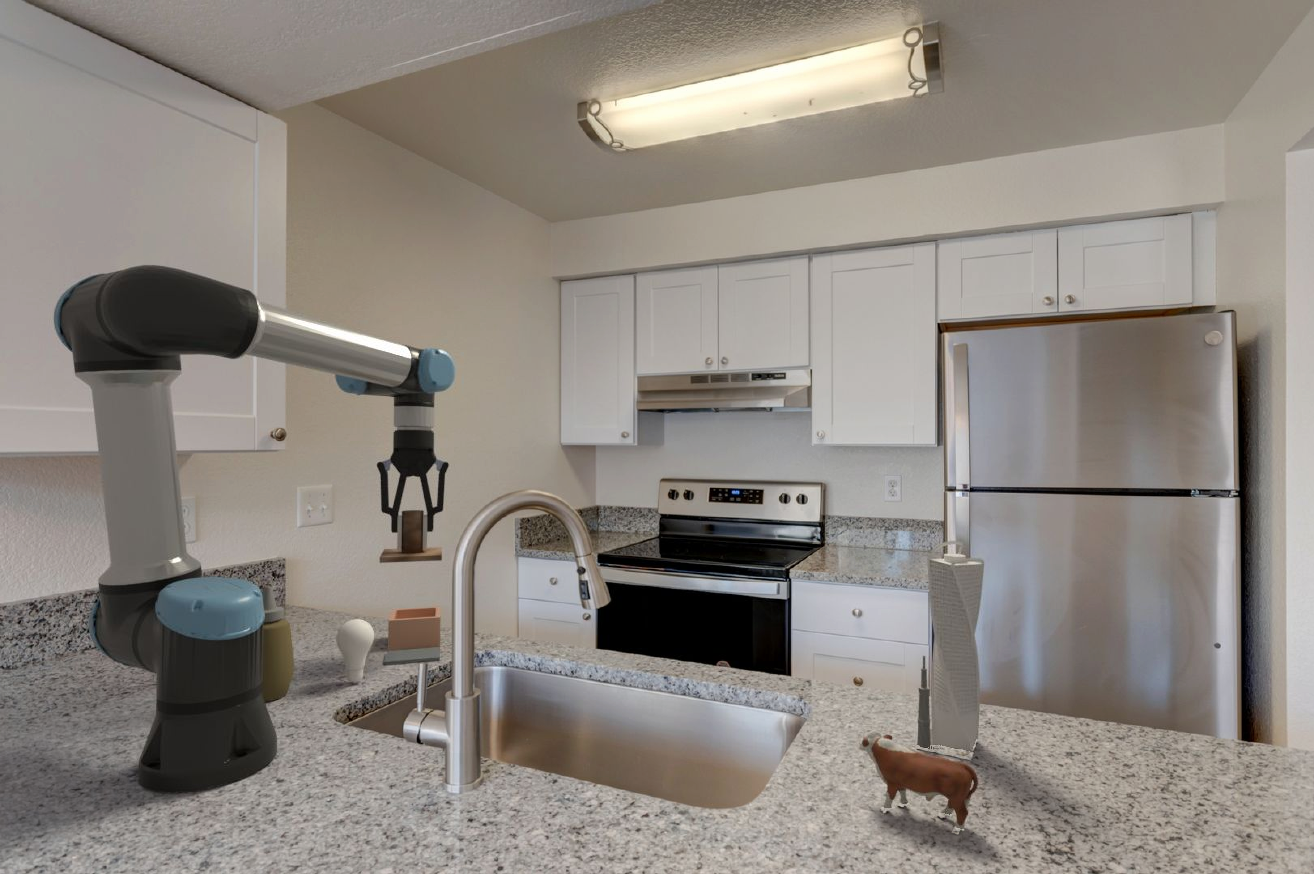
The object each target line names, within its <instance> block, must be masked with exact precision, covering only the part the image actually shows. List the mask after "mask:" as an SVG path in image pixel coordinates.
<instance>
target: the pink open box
mask: <svg viewBox="0 0 1314 874" xmlns="http://www.w3.org/2000/svg"><path fill="white" fill-rule="evenodd" d="M441 617H442V606H425V607H424V606H423V607H409V608H408V607H407V608H394V609H391V612H390V615H389V618H388V624H387V626H388V630H387V631H388V633H387V634H388V635H387V641H388V642H387V643H388V644H387V646H388V647H387V651H396V650H409V649H422V648H435V647H440V648H441V637H442V636H441V635H442V633H441V631H442V625H441V624H442V619H441Z"/></svg>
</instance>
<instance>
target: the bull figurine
mask: <svg viewBox="0 0 1314 874" xmlns="http://www.w3.org/2000/svg"><path fill="white" fill-rule="evenodd" d="M859 750H861V751H862V752H863V751H864V752H866V753H867V754H868V756H869V758H870V759H871V761H873V763H874V764H875V765H874V766H875V769H876V771H877V774H878V777H879V778H881V780H882V782H883V783H884V784H885V785H886V786H887V787H886V789H887V791H886V792H885V798H886V800H885V801H884V803H883V805H882V806H883V807H884V808H892V809H893V807H892V806H893V805H892V803H893V801H894V799H896V795H897V794H898V793H899V795H900V799H899V801H900V802H901V803H902V804H907V803H908V802H909V800H908V799H907V790H908V791H910V792H912V793H914V794H917V795H919V796H923V797H924V798H925V800H926V802H931V801H932V800H933V799H934V798H935V797H936V796H943V797H945V798H946V799H947V800H948V801H947V804H946V805H945V807H944V808H943V809H941V811H940V812H941V813H945V814H949V815H950V814H952V815H953V814H954V813H955V817H956V821H955V823H954V825H955V826H956V827H957V828H960V829H964V830H965V822H966V819H967V817H968V816H969V810H968V808H969V806H970V802H971V797H972V795H973V794H974V793H975V792H976V791H977V789H978V785H979V778H978V775H977V773H976V772H975V770H974V769H973V768H972V767H971V765H969V764H967V763H965V762H960V761H957V760H952V759H951V760H950V759H948V758H944V757H939V756H935V755H930V754H929V755H928V754H925V753H923V752H922V753H921V752H918V751H916V750H914V749H912V748H909V747H907V746H904V745H900V744H898V743H897V742H895V741H893V736H892V735H890V734H885V735H883V736H882V735H881V732H880V731H878V730H877V729H873V730H870V731H869V732H868V733H866V734H865V735H863V739H862V741H861V742H860V743H859ZM972 783H973V785H972ZM953 812H954V813H953Z"/></svg>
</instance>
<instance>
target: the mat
mask: <svg viewBox="0 0 1314 874" xmlns="http://www.w3.org/2000/svg"><path fill="white" fill-rule="evenodd" d="M440 660H441V646H440V647H428V648H415V649H403V650H390V651H388V650H387V651H386V654H385V658H384V661H383V665H384V666H389V665H390V666H391V665H402V664H414V663H425V662H437V661H440ZM422 661H424V662H422Z"/></svg>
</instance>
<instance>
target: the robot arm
mask: <svg viewBox="0 0 1314 874" xmlns="http://www.w3.org/2000/svg"><path fill="white" fill-rule="evenodd" d="M53 325H54V330H55V332H56V335H57V337H58V338H59V340H60V342H61V343H62V344H63V346H64V347H66V348H67V349H68V350H69V352H71V353H72V361H73V362H72V363H73V367H74V368H73V369H74V370H73V371H74V375H75V376H74V377H76V378H78V379H79V380H80V381H82V382H83V383H85V384H86V385H88V386H89V388H90V389H91V394H92V395H91V396H92V404H93V414H94V423H95V430H96V431H95V432H96V440H97V441H96V443H97V449H98V459H99V468H100V476H101V477H100V478H101V485H102V494H103V504H104V513H105V522H106V524H105V525H106V533H107V541H108V542H107V543H108V550H109V557H110V564H109V567H108V568H107V569H106V570H105V571H104V572H103V573H102V574H101V575H100V576H99V577H98V581H97V583H98V593H99V598H98V599H97V600H96V602H95V603H94V604H93V606H92V608H91V610H90V612H89V613H90V614H89V616H88V630H89V631H88V632H89V636H90V638H91V641H92V643H93V644H94V646H95V647H96V648H97V649H98V650H99V651H100V652H101V653H102V654H104V655H105V656H106V657H107V658H109V659H111V660H112V661H113V662H115V663H119V664H122V665H123V666H125V667H130V668H138V669H140V670H144V671H147V672H150V673H152V674H156V678H155V679H156V689H155V690H156V693H155V694H156V698H155V700H156V703H155V704H156V705H155V707H156V708H155V709H156V710H155V716H154V720H153V722H152V725H151V728H150V730H149V733H148V735H147V739H146V741H145V743H144V746H143V748H142V751H141V753H140V754H141V755H140V756H139V757H140V758H139V759H138V763H137V764H138V767H137V769H138V770H137V783H138V784H139V786H140V787H142V788H143V789H145V790H148V791H152V792H156V793H169V794H170V793H188V792H195V791H200V790H201V791H202V790H207V789H211V788H215V787H219V786H223V785H227V784H230V783H232V782H236V781H238V780H239V781H240V780H241V779H243V778H246V777H248V776H250V775H252V774H254V773H256V772H259V771H260V770H261V769H264V768H265V767H266V766H268V765H269V764H270V763H271V762H272V761H273V760H274V759H275V757H276V756H277V753H278V735H277V731H276V728H275V726H274V723H273V721H272V717H271V716H270V713H269V710H268V708H267V707H268V706H267V705H266V701H264V699H263V692H262V686H263V621H264V618H265V611H264V606H263V597H262V594H263V592H262V590H261V589H260V588H259V587H258V586H257V585H256V584H255V583H253V582H251V581H249V580H246V579H242V578H237V577H222V576H203V571H202V563H201V561H199V560H198V559H196V558H195V557H193V556H191V555H190V554H189V553H188V549H187V541H186V532H185V521H184V520H185V519H184V510H183V501H182V491H181V483H180V480H181V479H180V473H179V461H178V454H177V453H178V451H177V443H176V442H177V441H176V431H175V430H176V429H175V423H174V422H175V421H174V413H173V402H172V391H171V390H172V389H171V386H172V384H173V383H174V381H175V380H176V379H177V378H179V376H180V375H181V374H183V373H182V361H181V359H182V358H181V356H182V355H184V356H185V355H191V356H193V355H203V356H206V355H207V356H214V357H215V356H216V357H222V358H225V359H230V360H237V359H241V358H242V357H244V356H245V355H246V356H252V357H256V358H261V359H265V360H270V361H273V362H278V363H283V364H286V365H287V364H288V365H292V366H296V367H301V368H306V369H310V370H315V371H319V372H324V373H327V374H332V375H334V377H335V382H336V384H337V386H338V387H339V389H340V391H343V392H345V393H347V394H353V395H357V396H362V395H365V396H374V397H375V396H376V397H388V398H393V426H394V427H395V428H396V429H394V432H393V433H392V434H393V439H392V440H393V441H392V443H393V444H392V445H393V446H392V448H393V449H392V453H391V455H390V458H388V459H386V460H382V461H379V462H377V463H376V467H377V470H378V473H379V474H380V501H381V502H380V504H381V505H380V507H381V508H380V509H381V513H383V514H387V515H389V516H390V518H391V523H390V524H391V525H390V528H391V529H390V530H391V533H394V534H396V533H397V537H396V540H397V543H396V546H397V547H396V549H397V551H401V550H402V514H401V515H400V514H399V512H400V508H401V504H402V500H403V495H404V491H405V487H406V481H407V478H410V477H417V478H419V480H420V484H421V490H422V495H423V499H424V503H425V509H426V514H424V516H423V550H427V548H428V533H430V532H431V533H432V532H433V531H434V519H435V518H434V517H435V515H436V514H439V513H441V512H443V510H444V501H445V500H444V499H445V484H446V483H445V482H446V480H445V479H446V473H447V471H448V469H449V466H450V464H449V463H448V462H447V461H443V460H440V459H437V455H436V454H435V432H434V430H432V429H433V428H434V427H435V397H436V396H435V395H436V394H435V393H440V392H444V391H446V390H448V389H450V387H451V386H452V385H453V382H454V380H455V377H456V366H455V362H454V360H453V358H452V357H451V355H450V354H449V352H446V351H445V350H443V349H441V348H432V347H426V348H419V347H418V348H417V347H415V346H414V347H413V346H410V345H407V344H403V343H400V342H395V341H392V340H389V339H388V338H387V339H386V338H383V337H379V336H376V335H372V334H369V333H366V332H363V331H359V330H356V329H353V328H350V327H346V326H343V325H339V324H336V323H332V322H329V321H326V320H322V319H319V318H316V317H313V316H309V315H305V314H303V313H299V312H296V311H293V310H290V309H287V308H283V307H279V306H276V305H272V304H269V303H266V302H262V301H260V300H259V298H258V297H257V295H256V294H255V293H254V292H253V291H251V290H249V289H246V288H242V287H239V286H236V285H232V284H229V283H226V282H223V281H219V280H216V279H213V278H210V277H207V276H203V275H201V274H197V273H193V272H190V271H186V270H183V269H179V268H176V267H175V268H174V267H169V266H166V265H159V264H158V265H156V264H143V265H136V266H132V267H128V268H125V269H121V270H116V271H112V272H111V271H110V272H107V273H104V272H103V273H99V274H94V275H91V276H88V277H86V278H83V279H81V280H80V281H78V282H76V283H74V284H73V285H71V286H70V287H69V288H67V289H66V290H65V291H64V292H63V293H62V294H61V296H60V297H59V299H58V300H57V302H56V305H55V307H54V312H53ZM391 465H392V466H393V467H394V468H395V469H396V470H397V472H398V473H399V478H398V481H397V487H396V491H395V496H394V499H393V500H394V501H393V505H392V507H390V497H389V492H390V491H389V474H388V471H390V469H391ZM434 465H436V471H438V480H437V481H438V482H437V495H436V496H437V498H436V499H437V500H436V501H437V502H436V506H433V502H432V500H433V499H432V497H431V490H430V485H429V482H428V477H427V474H428V473H429V471H430V470H431V469H432V467H433V466H434Z"/></svg>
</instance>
